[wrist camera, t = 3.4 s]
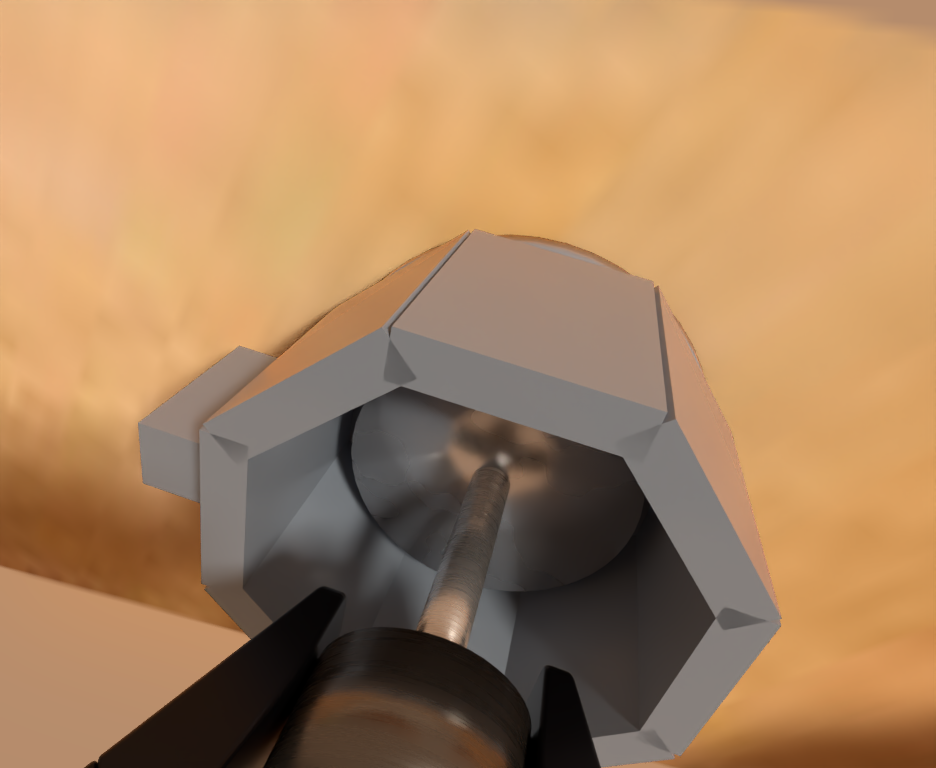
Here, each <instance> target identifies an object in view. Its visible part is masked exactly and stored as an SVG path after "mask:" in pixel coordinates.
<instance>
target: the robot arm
mask: <svg viewBox="0 0 936 768" xmlns="http://www.w3.org/2000/svg"><path fill="white" fill-rule="evenodd" d="M346 601H347V597H346V594H345V593H344V592H341V591H339V590H336V589H333V588H330V587H327V586H321V587H319V588H317V589H316V590H314V591H313V592H312V593H310V594H309V595H308V596H306V597H305V598H304V599H303V600H301V601H300V602H299V603H297V604H296V605H295V606H294V607H292V608H291V609H290V610H288V611H287V612H286V613H284V614H283V615H282V616H281V617H279V618H278V619H277V620H275V621H274V622H273V623H271V624H270V625H269V626H268V627H266V628H265V629H264V630H262V631H261V632H260V633H259V634H257V635H256V636H255V637H253V638H252V639H251V640H250V641H248V642H247V643H246V644H244V645H243V646H242V647H240V648H239V649H238V650H237V651H235V652H234V653H233V654H231V655H230V656H229V657H227V658H226V659H225V660H224V661H222V662H221V663H220V664H218V665H217V666H216V667H214V668H213V669H212V670H211V671H209V672H208V673H207V674H206V675H204V676H203V677H202V678H200V679H199V680H198V681H196V682H195V683H194V684H192V685H191V686H190V687H189V688H187V689H186V690H185V691H184V692H182V693H181V694H180V695H178V696H177V697H176V698H174V699H173V700H172V701H170V702H169V703H168V704H167V705H165V706H164V707H163V708H161V709H160V710H159V711H157V712H156V713H155V714H154V715H152V716H151V717H150V718H148V719H147V720H146V721H145V722H143V723H142V724H141V725H139V726H138V727H137V728H136V729H134V730H133V731H132V732H130V733H129V734H128V735H126V736H125V737H124V738H122V739H121V740H120V741H119V742H117V743H116V744H115V745H113V746H112V747H111V748H110V749H108V750H107V751H106V752H104V753H103V754H102V755H101V756H100V757H99V759H98V763H97V762H96V761H93V762H91V763H90V764H88V765H87V766H86V767H84V768H263V767H264V765H265V763H266V761H267V759H268V757H269V755H270V753H271V751H272V749H273V747H274V745H275V743H276V741H277V739H278V737H279V735H280V733H281V731H282V729H283V727H284V725H285V723H286V721H287V719H288V718H289V716H290V714H291V712H292V710H293V708H294V706H295V704H296V702H297V700H298V698H299V696H300V694H301V692H302V690H303V688H304V686H305V684H306V682H307V680H308V678H309V676H310V674H311V672H312V670H313V668H314V666H315V664H316V662H317V661H318V659H319V657H320V655H321V653H322V651H323V650H324V649H325V648H326V647H327V645H329V644H330V643H331V642H332V641H334V640H335V639H337V638H338V637H339V636H340V633H341V629H342V624H343V619H344V613H345V607H346ZM526 706H527V708H528V711H529V714H530V718H531V726H532V730H531V738H530V745H529V752H528V759H527V766H526V768H601V766H600V763H599V759H598V756H597V753H596V749H595V746H594V743H593V739H592V736H591V733H590V730H589V726H588V723H587V720H586V716H585V713H584V710H583V707H582V703H581V700H580V697H579V693H578V690H577V687H576V683H575V680H574V678H573V676H572V675H571V673H569V672H568V671H565V670H562V669H559V668H556V667H554V666H551V665H545V666H544V667H543V668H542V670H541V672H540V674H539V676H538V678H537V680H536V683H535V685H534V687H533V689H532V691H531V693H530V695H529V698H528V701H527V704H526Z"/></svg>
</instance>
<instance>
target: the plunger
mask: <svg viewBox="0 0 936 768" xmlns="http://www.w3.org/2000/svg"><path fill="white" fill-rule="evenodd" d="M351 454H352V467H353V472H354V476H355V480H356V484H357V486H358V489H359V492H360V494H361V497H362V499H363V501H364V503H365V505H366V506H367V508H368V510H369V512H370V513H371V515H372V516H373V518H374V519H375V521H376V522H377V523H378V525H379V526H380V527H381V528H382V529H383V531H384V532H385V533H386V534H387V535H388V536H389V537H390V538H391V539H392V540H393V541H394V542H395V543H396V544H397V545H398V546H399V547H400V548H402V549H403V550H404V551H405V552H407V553H408V554H409V555H411V556H412V557H413V558H415V559H416V560H418V561H419V562H421V563H423V564H424V565H426V566H427V567H429V568H431V569H433V570H435V571H437V574H436V576H435V579H434V582H433V585H432V587H431V590H430V593H429V596H428V598H427V601H426V604H425V607H424V609H423V612H422V615H421V617H420V620H419V623H418V626H417V628H416V630H412V629H405V628H397V627H374V628H365V629H360V630H355V631H352V632H350V633H347V634H344V635H342V636H340V637H338V638H337V639H335V640H334V641H332V642H331V643H330V644H329V645H327V647H326V648H325V649H324V650H323V651H322V653H321V655H320V657H319V659H318V661H317V662H316V664H315V666H314V668H313V670H312V672H311V674H310V676H309V678H308V680H307V682H306V684H305V686H304V688H303V690H302V692H301V694H300V696H299V698H298V700H297V702H296V704H295V706H294V708H293V710H292V712H291V714H290V716H289V718H288V719H287V721H286V723H285V725H284V727H283V729H282V731H281V733H280V735H279V737H278V739H277V741H276V743H275V745H274V747H273V749H272V751H271V753H270V755H269V757H268V759H267V761H266V763H265V765H264V767H263V768H526V766H527V759H528V752H529V745H530V738H531V730H532V726H531V718H530V714H529V711H528V708H527V706H526V704H525V701H524V699H523V698H522V696H521V695H520V693H519V692H518V690H517V689H516V687H515V686H514V685H513V684H512V683H511V682H510V680H509V679H508V678H507V677H506V676H505V675H504V674H503V673H501V672H500V671H499V670H498V669H497V668H496V667H495V666H493V665H492V664H491V663H489V662H488V661H487V660H485V659H484V658H482V657H481V656H479V655H477V654H476V653H474V652H473V651H471V650H469V649H467V645H468V642H469V638H470V634H471V630H472V627H473V623H474V619H475V616H476V612H477V608H478V604H479V601H480V597H481V593H482V590H483V588H488V589H493V590H503V591H537V590H546V589H551V588H556V587H560V586H564V585H567V584H570V583H573V582H576V581H578V580H580V579H582V578H585V577H587V576H589V575H591V574H593V573H594V572H596V571H597V570H599V569H600V568H602V567H604V566H605V565H606V564H607V563H609V562H610V561H611V560H612V559H613V558H614V557H616V556H617V555H618V553H619V552H620V551H621V550H622V549H623V548H624V546H625V545H626V544H627V543H628V541H629V539H630V538H631V536H632V534H633V533H634V531H635V529H636V527H637V524H638V522H639V519H640V517H641V513H642V508H643V503H644V493H643V491H642V489H641V487H640V486H639V484H638V482H637V481H636V479H635V477H634V475H633V474H632V472H631V470H630V468H629V467H628V465H627V463H626V462H625V460H624V458H623V457H621V456H618V455H615V454H612V453H609V452H606V451H602V450H599V449H596V448H593V447H590V446H587V445H584V444H581V443H577V442H574V441H571V440H568V439H565V438H562V437H559V436H556V435H552V434H549V433H546V432H543V431H540V430H537V429H534V428H531V427H527V426H524V425H521V424H518V423H515V422H512V421H509V420H506V419H502V418H499V417H496V416H493V415H490V414H487V413H484V412H481V411H477V410H474V409H471V408H468V407H465V406H462V405H459V404H456V403H452V402H449V401H446V400H443V399H440V398H437V397H434V396H431V395H427V394H424V393H421V392H418V391H415V390H412V389H409V388H406V387H402V386H400V387H398V388H396V389H394V390H392V391H390V392H388V393H386V394H384V395H381V396H379V397H377V398H375V399H373V400H371V401H369V402H367V403H365V404H364V406H363V407H362V409H361V412H360V414H359V416H358V419H357V421H356V424H355V429H354V433H353V437H352V450H351Z"/></svg>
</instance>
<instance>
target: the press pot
mask: <svg viewBox="0 0 936 768" xmlns="http://www.w3.org/2000/svg"><path fill="white" fill-rule="evenodd" d="M400 386H402V387H406V388H409V389H412V390H415V391H418V392H421V393H424V394H427V395H431V396H434V397H437V398H440V399H443V400H446V401H449V402H452V403H456V404H459V405H462V406H465V407H468V408H471V409H474V410H477V411H481V412H484V413H487V414H490V415H493V416H496V417H499V418H502V419H506V420H509V421H512V422H515V423H518V424H521V425H524V426H527V427H531V428H534V429H537V430H540V431H543V432H546V433H549V434H552V435H556V436H559V437H562V438H565V439H568V440H571V441H574V442H577V443H581V444H584V445H587V446H590V447H593V448H596V449H599V450H602V451H606V452H609V453H612V454H615V455H618V456H621V457H623V458H624V460H625V462H626V463H627V465H628V467H629V468H630V470H631V472H632V474H633V475H634V477H635V479H636V481H637V482H638V484H639V486H640V487H641V489H642V491H643V493H644V503H643V508H642V513H641V517H640V519H639V522H638V524H637V527H636V529H635V531H634V533H633V534H632V536H631V538H630V539H629V541H628V543H627V544H626V545H625V546H624V548H623V549H622V550H621V551H620V552H619V553H618V555H617V556H616V557H614V558H613V559H612V560H611V561H610V562H609V563H607V564H606V565H605V566H604V567H602V568H600V569H599V570H597V571H596V572H594V573H593V574H591V575H589V576H587V577H585V578H582V579H580V580H578V581H576V582H573V583H570V584H567V585H564V586H560V587H556V588H551V589H546V590H537V591H503V590H493V589H488V588H483V590H482V593H481V597H480V601H479V604H478V608H477V612H476V616H475V619H474V623H473V627H472V630H471V634H470V638H469V642H468V645H467V649H469V650H471V651H473V652H474V653H476V654H477V655H479V656H481V657H482V658H484V659H485V660H487V661H488V662H489V663H491V664H492V665H493V666H495V667H496V668H497V669H498V670H499V671H500V672H501V673H503V674H504V675H505V676H506V677H507V678H508V679H509V680H510V682H511V683H512V684H513V685H514V686H515V687H516V689H517V690H518V692H519V693H520V695H521V696H522V698H523V699H524V701H525V704H527V701H528V698H529V695H530V693H531V691H532V689H533V687H534V685H535V683H536V680H537V678H538V676H539V674H540V672H541V670H542V668H543V667H544V666H545V665H551V666H554V667H556V668H559V669H562V670H565V671H568V672H569V673H571V675H572V676H573V678H574V680H575V683H576V687H577V690H578V693H579V697H580V700H581V703H582V707H583V710H584V713H585V716H586V720H587V723H588V726H589V730H590V733H591V736H592V739H593V743H594V746H595V749H596V753H597V756H598V759H599V763H600V766H601V767H608V766H617V765H626V764H635V763H643V762H652V761H661V760H669V759H675V757H674V754H676V755H679V756H681V755H682V754H683V752H684V751H685V750H686V748H687V747H688V746H689V745H690V743H691V742H692V741H693V739H694V738H695V737H696V735H697V734H698V733H699V732H700V730H701V729H702V728H703V726H704V725H705V724H706V723H707V721H708V720H709V719H710V717H711V716H712V715H713V713H714V712H715V711H716V710H717V708H718V707H719V706H720V704H721V703H722V702H723V700H724V699H725V698H726V697H727V695H728V694H729V693H730V691H731V690H732V689H733V687H734V686H735V685H736V684H737V682H738V681H739V680H740V678H741V677H742V676H743V675H744V673H745V672H746V671H747V669H748V668H749V667H750V665H751V664H752V663H753V662H754V660H755V659H756V658H757V656H758V655H759V654H760V652H761V651H762V650H763V649H764V647H765V646H766V645H767V643H768V642H769V641H770V640H771V638H772V637H773V636H774V634H775V633H776V632H777V630H778V629H779V628H780V627H781V623H780V619H782V618H781V614H780V610H779V607H778V603H777V599H776V596H775V592H774V588H773V584H772V581H771V577H770V573H769V570H768V566H767V562H766V559H765V555H764V551H763V548H762V544H761V540H760V536H759V533H758V529H757V525H756V522H755V518H754V514H753V511H752V507H751V503H750V499H749V496H748V492H747V488H746V485H745V481H744V477H743V474H742V470H741V466H740V462H739V459H738V455H737V451H736V448H735V444H734V440H733V437H732V433H731V430H730V428H729V426H728V424H727V422H726V420H725V418H724V416H723V414H722V412H721V410H720V408H719V406H718V404H717V402H716V400H715V398H714V396H713V394H712V392H711V390H710V388H709V386H708V384H707V382H706V380H705V378H704V374H703V370H702V366H701V364H700V361H699V359H698V356H697V354H696V352H695V349H694V347H693V344H692V343H691V341H690V339H689V338H688V336H687V334H686V332H685V331H684V329H683V327H682V326H681V324H680V322H679V321H678V320H677V319H676V317H675V316H674V315H673V314H672V312H671V310H670V308H669V306H668V304H667V302H666V300H665V298H664V296H663V294H662V292H661V290H660V288H659V286H657V287H655V288H654V284H653V281H650V280H647V279H644V278H640V277H637V276H633V275H631V274H629V273H628V272H626V271H625V270H624V269H622V268H621V267H619V266H617V265H615V264H613V263H612V262H610V261H608V260H606V259H604V258H602V257H600V256H598V255H596V254H594V253H592V252H589V251H586V250H583V249H581V248H578V247H575V246H572V245H570V244H567V243H563V242H558V241H554V240H549V239H545V238H540V237H532V236H520V235H494V234H490V233H487V232H483V231H480V230H477V229H475V230H474V231H473V232H472V233H471V234H470V232H469V230H467V231H465V232H464V233H462V234H460V235H459V236H457V237H455V238H453V239H452V240H450V241H448V242H447V243H445V244H443V245H441V246H438V247H435V248H432V249H430V250H428V251H426V252H424V253H422V254H420V255H418V256H416V257H414V258H412V259H410V260H408V261H407V262H405V263H404V264H402V265H401V266H400V267H398V268H397V269H395V270H394V271H392V272H391V273H390V274H389V275H387V276H386V277H385V278H384V279H383V280H382V281H380V282H378V283H376V284H375V285H373V286H371V287H370V288H368V289H366V290H364V291H363V292H361V293H359V294H358V295H356V296H354V297H352V298H351V299H349V300H347V301H346V302H344V303H342V304H340V305H339V306H337V307H335V308H334V309H333V310H332V311H331V312H330V313H328V314H327V315H326V316H325V317H324V318H323V319H322V320H320V321H319V322H318V323H317V324H316V325H315V326H314V327H312V328H311V329H310V330H309V331H308V332H307V333H306V334H304V335H303V336H302V337H301V338H300V339H299V340H298V341H297V342H295V343H294V344H293V345H292V346H291V347H290V348H289V349H287V350H286V351H285V352H284V353H283V354H282V355H281V356H279V357H278V358H276V357H273V356H269V355H266V354H263V353H260V352H257V351H254V350H251V349H248V348H245V347H241V346H238V347H237V348H236V349H235V350H233V351H232V352H231V353H229V354H228V355H227V356H225V357H224V358H223V359H221V360H220V361H219V362H217V363H216V364H215V365H214V366H212V367H211V368H210V369H208V370H207V371H206V372H204V373H203V374H202V375H200V376H199V377H198V378H196V379H195V380H194V381H192V382H191V383H190V384H189V385H187V386H186V387H185V388H183V389H182V390H181V391H179V392H178V393H177V394H175V395H174V396H173V397H171V398H170V399H169V400H168V401H166V402H165V403H164V404H162V405H161V406H160V407H158V408H157V409H156V410H154V411H153V412H152V413H150V414H149V415H148V416H147V417H145V418H144V419H143V420H141V421H140V422H139V423H138V427H139V440H140V453H141V466H142V478H143V483H144V484H146V485H149V486H152V487H155V488H158V489H161V490H164V491H167V492H169V493H172V494H175V495H178V496H181V497H184V498H187V499H190V500H192V501H195V502H198V503H200V517H201V584H204V585H207V586H206V587H205V589H204V590H205V591H206V592H207V593H208V594H209V595H210V596H211V597H212V598H213V599H214V600H215V601H216V602H217V603H218V605H219V606H220V607H221V608H222V609H223V610H224V611H225V612H226V613H227V614H228V615H229V616H230V617H231V618H232V620H233V621H234V622H235V623H236V624H237V625H238V626H239V627H240V628H241V629H242V630H243V631H244V632H245V633H246V635H247V636H248V637H249V638H250V639H252V638H253V637H255V636H256V635H257V634H259V633H260V632H261V631H262V630H264V629H265V628H266V627H268V626H269V625H270V624H271V623H273V622H274V621H275V620H277V619H278V618H279V617H281V616H282V615H283V614H284V613H286V612H287V611H288V610H290V609H291V608H292V607H294V606H295V605H296V604H297V603H299V602H300V601H301V600H303V599H304V598H305V597H306V596H308V595H309V594H310V593H312V592H313V591H314V590H316V589H317V588H319V587H321V586H327V587H330V588H333V589H336V590H339V591H341V592H344V593H345V594H346V597H347V601H346V607H345V613H344V619H343V624H342V629H341V633H340V636H342V635H344V634H347V633H350V632H352V631H355V630H360V629H365V628H374V627H397V628H405V629H412V630H416V628H417V626H418V623H419V620H420V617H421V615H422V612H423V609H424V607H425V604H426V601H427V598H428V596H429V593H430V590H431V587H432V585H433V582H434V579H435V576H436V574H437V571H435V570H433V569H431V568H429V567H427V566H426V565H424V564H423V563H421V562H419V561H418V560H416V559H415V558H413V557H412V556H411V555H409V554H408V553H407V552H405V551H404V550H403V549H402V548H400V547H399V546H398V545H397V544H396V543H395V542H394V541H393V540H392V539H391V538H390V537H389V536H388V535H387V534H386V533H385V532H384V531H383V529H382V528H381V527H380V526H379V525H378V523H377V522H376V521H375V519H374V518H373V516H372V515H371V513H370V512H369V510H368V508H367V506H366V505H365V503H364V501H363V499H362V497H361V494H360V492H359V489H358V486H357V484H356V480H355V476H354V472H353V467H352V454H351V450H352V437H353V433H354V429H355V424H356V421H357V419H358V416H359V414H360V412H361V409H362V407H363V406H364V404H365V403H367V402H369V401H371V400H373V399H375V398H377V397H379V396H381V395H384V394H386V393H388V392H390V391H392V390H394V389H396V388H398V387H400ZM340 636H339V637H340Z"/></svg>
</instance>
